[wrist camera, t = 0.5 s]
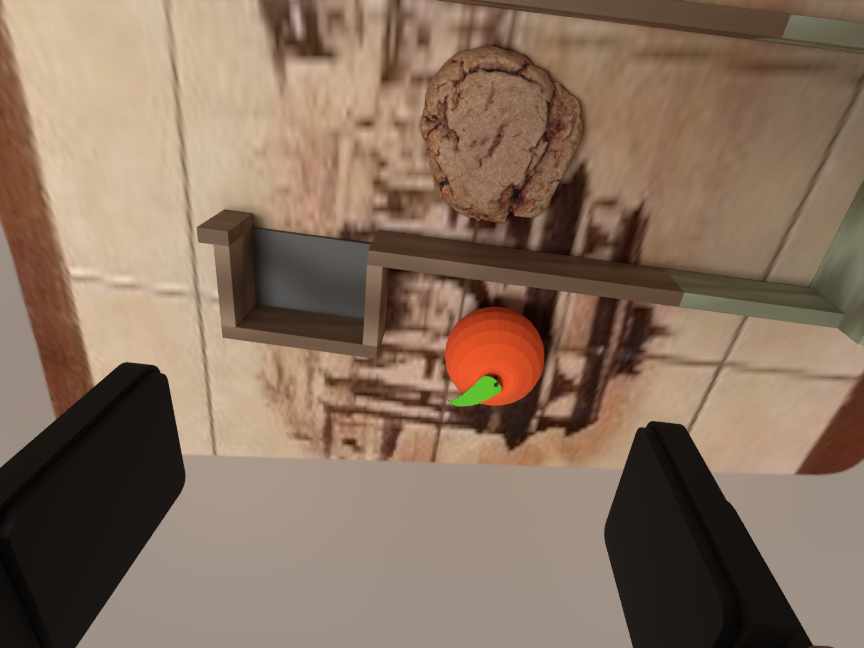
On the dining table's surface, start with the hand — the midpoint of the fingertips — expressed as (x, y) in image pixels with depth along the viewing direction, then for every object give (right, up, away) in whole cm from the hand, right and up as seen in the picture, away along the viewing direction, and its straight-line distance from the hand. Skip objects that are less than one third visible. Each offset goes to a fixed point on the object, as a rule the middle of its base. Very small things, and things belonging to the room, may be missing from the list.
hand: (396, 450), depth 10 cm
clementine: (+5, +2, +29) cm, 30 cm away
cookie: (+5, +15, +23) cm, 27 cm away
